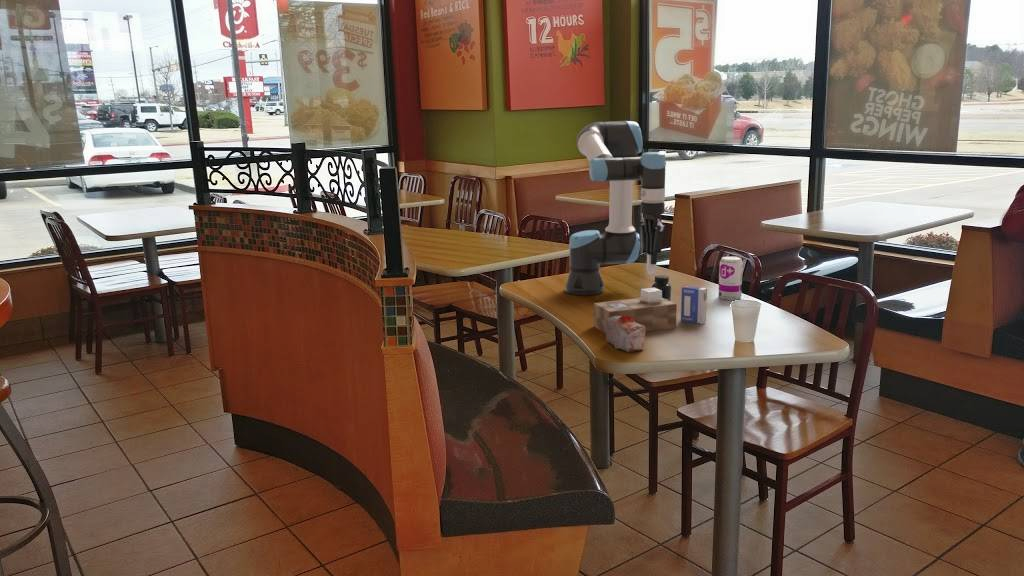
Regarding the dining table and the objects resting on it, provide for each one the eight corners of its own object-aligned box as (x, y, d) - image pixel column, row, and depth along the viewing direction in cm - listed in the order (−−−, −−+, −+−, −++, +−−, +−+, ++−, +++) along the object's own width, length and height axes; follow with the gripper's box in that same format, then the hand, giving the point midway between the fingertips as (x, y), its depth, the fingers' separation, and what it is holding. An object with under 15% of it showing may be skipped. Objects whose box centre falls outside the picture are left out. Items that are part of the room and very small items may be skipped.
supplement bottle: (670, 312, 286) (671, 278, 284) (650, 311, 288) (651, 278, 285) (670, 307, 293) (671, 274, 290) (651, 306, 294) (652, 274, 292)
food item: (649, 351, 245) (649, 319, 243) (626, 355, 242) (627, 323, 239) (623, 339, 257) (623, 309, 255) (601, 343, 253) (601, 312, 251)
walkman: (680, 321, 276) (681, 286, 273) (683, 319, 278) (684, 284, 275) (703, 324, 271) (704, 289, 268) (706, 322, 273) (707, 287, 271)
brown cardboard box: (593, 326, 271) (593, 303, 269) (657, 318, 279) (658, 295, 277) (609, 336, 260) (610, 311, 258) (676, 327, 268) (676, 303, 266)
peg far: (640, 309, 272) (640, 289, 270) (653, 307, 273) (654, 287, 272) (648, 313, 267) (648, 292, 266) (661, 311, 269) (661, 290, 267)
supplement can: (732, 301, 299) (734, 261, 296) (713, 297, 305) (715, 258, 302) (745, 297, 304) (747, 258, 301) (726, 293, 310) (728, 255, 307)
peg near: (607, 325, 269) (608, 304, 267) (621, 323, 270) (621, 302, 269) (614, 329, 264) (615, 308, 263) (628, 327, 266) (628, 306, 264)
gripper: (632, 199, 267) (631, 270, 272) (652, 204, 255) (651, 278, 260) (653, 198, 269) (651, 268, 274) (673, 202, 257) (671, 276, 262)
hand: (651, 273), depth 267 cm, fingers closed
